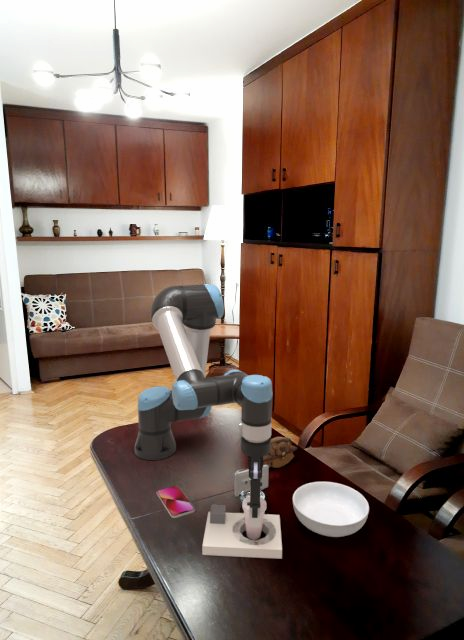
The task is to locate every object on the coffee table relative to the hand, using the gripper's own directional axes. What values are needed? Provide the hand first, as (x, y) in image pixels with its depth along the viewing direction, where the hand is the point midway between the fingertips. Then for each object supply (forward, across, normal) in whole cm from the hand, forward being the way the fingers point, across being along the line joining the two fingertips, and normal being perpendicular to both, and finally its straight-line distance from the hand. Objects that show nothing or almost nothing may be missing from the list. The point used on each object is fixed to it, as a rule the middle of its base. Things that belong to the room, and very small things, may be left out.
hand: (254, 517), depth 118 cm
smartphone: (+7, -15, -24) cm, 29 cm away
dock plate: (+6, 0, -3) cm, 7 cm away
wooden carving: (+6, -38, +8) cm, 39 cm away
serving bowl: (+7, -8, +21) cm, 23 cm away
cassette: (+7, -22, -1) cm, 23 cm away
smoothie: (+6, 0, 0) cm, 6 cm away
